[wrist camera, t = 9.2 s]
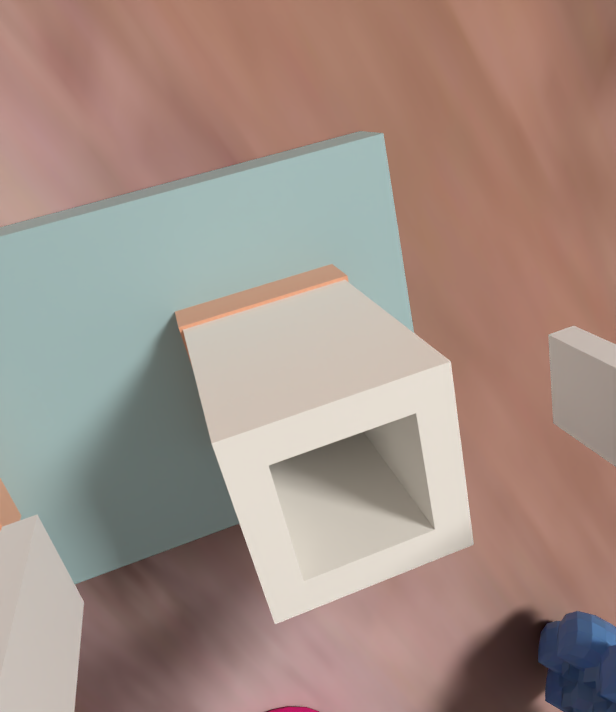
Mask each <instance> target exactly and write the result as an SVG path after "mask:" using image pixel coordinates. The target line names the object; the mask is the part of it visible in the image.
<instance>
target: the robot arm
mask: <svg viewBox="0 0 616 712" xmlns="http://www.w3.org/2000/svg"><path fill="white" fill-rule="evenodd" d="M549 353H550V371H551V389H552V407H553V423H554V424H555V425H557V426H558V427H559V428H561V429H562V430H564V431H565V432H567V433H568V434H570V435H571V436H572V437H574V438H575V439H577V440H578V441H580V442H581V443H582V444H584V445H585V446H587V447H588V448H590V449H591V450H592V451H594V452H595V453H597V454H598V455H600V456H601V457H602V458H604V459H605V460H607V461H608V462H610V463H611V464H612V465H614V466H615V467H616V344H614V343H611V342H609V341H607V340H605V339H602V338H600V337H598V336H596V335H593V334H591V333H589V332H587V331H585V330H582V329H580V328H578V327H576V326H571V327H569V328H566V329H563V330H560V331H557V332H554V333H552V334H549ZM83 608H84V601H83V599H82V597H81V595H80V594H79V592H78V590H77V588H76V586H75V584H74V582H73V580H72V579H71V577H70V575H69V573H68V571H67V569H66V567H65V565H64V564H63V562H62V560H61V558H60V556H59V554H58V552H57V550H56V548H55V547H54V545H53V543H52V541H51V539H50V537H49V535H48V533H47V532H46V530H45V528H44V526H43V524H42V522H41V520H40V518H39V517H38V515H34V516H31V517H28V518H25V519H23V520H20V521H17V522H14V523H11V524H8V525H5V526H3V527H2V529H1V532H0V712H74V710H75V699H76V687H77V676H78V665H79V653H80V642H81V631H82V620H83Z"/></svg>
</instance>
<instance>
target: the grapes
mask: <svg viewBox="0 0 616 712" xmlns="http://www.w3.org/2000/svg"><path fill="white" fill-rule="evenodd" d="M538 662H539V663H540V664H542V665H544V666H545V667H547V668H549V669H548V672H547V679H546V687H545V701H547V702H548V703H550V704H552V705H553V706H555V707H556V708H558V709H560V710H562V711H563V712H616V627H615V626H613V625H612V624H610V623H609V622H607V621H605V620H603V619H601V618H599V617H598V616H596V615H592V614H588V613H584V612H579V611H576V612H573V613H569V614H566V615H565V616H564V618H563V619H562V620H561V621H555V622H551V623H547V624H546V626H545V627H544V629H543V630H542V631H541V636H540V642H539V649H538Z"/></svg>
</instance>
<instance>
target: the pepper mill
mask: <svg viewBox="0 0 616 712" xmlns="http://www.w3.org/2000/svg"><path fill="white" fill-rule="evenodd" d="M268 712H319V711H316V710H313V709H310V708H307V707H283V708H278V709H274V710H271V711H268Z"/></svg>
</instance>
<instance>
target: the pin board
mask: <svg viewBox="0 0 616 712" xmlns="http://www.w3.org/2000/svg"><path fill="white" fill-rule="evenodd" d="M330 264H333V265H334V266H335V267H337V268H338V269H339V270H341V271H342V272H343V273H345V274H346V275H347V276H348V281H349V283H350V284H351V285H353V286H354V287H355V288H357V289H358V290H359V291H360V292H362V293H363V294H364V295H366V296H367V297H368V298H369V299H371V300H372V301H373V302H375V303H376V304H377V305H378V306H380V307H381V308H382V309H384V310H385V311H386V312H388V313H389V314H390V315H391V316H393V317H394V318H395V319H397V320H398V321H399V322H400V323H402V324H403V325H404V326H406V327H407V328H408V329H409V330H411V331H412V332H413V333H414V330H413V324H412V317H411V311H410V304H409V298H408V291H407V285H406V278H405V272H404V265H403V258H402V252H401V245H400V239H399V232H398V226H397V219H396V213H395V206H394V200H393V193H392V187H391V180H390V174H389V167H388V161H387V154H386V148H385V141H384V135H383V133H375V132H363V131H359V132H355V133H352V134H348V135H344V136H341V137H337V138H333V139H329V140H326V141H322V142H318V143H314V144H311V145H307V146H303V147H299V148H296V149H292V150H288V151H284V152H281V153H277V154H273V155H269V156H266V157H262V158H258V159H255V160H251V161H247V162H243V163H240V164H236V165H232V166H228V167H225V168H221V169H217V170H213V171H210V172H206V173H202V174H198V175H195V176H191V177H187V178H183V179H180V180H176V181H172V182H169V183H165V184H161V185H157V186H154V187H150V188H146V189H142V190H139V191H135V192H131V193H127V194H124V195H120V196H116V197H112V198H109V199H105V200H101V201H97V202H94V203H90V204H86V205H82V206H79V207H75V208H71V209H68V210H64V211H60V212H56V213H53V214H49V215H45V216H41V217H38V218H34V219H30V220H26V221H23V222H19V223H15V224H11V225H8V226H4V227H0V478H1V480H2V482H3V484H4V485H5V487H6V489H7V491H8V493H9V494H10V496H11V498H12V500H13V502H14V503H15V505H16V507H17V509H18V511H19V512H20V514H21V519H20V520H23V519H25V518H28V517H31V516H34V515H38V517H39V518H40V520H41V522H42V524H43V526H44V528H45V530H46V532H47V533H48V535H49V537H50V539H51V541H52V543H53V545H54V547H55V548H56V550H57V552H58V554H59V556H60V558H61V560H62V562H63V564H64V565H65V567H66V569H67V571H68V573H69V575H70V577H71V579H72V580H73V582H74V584H77V583H80V582H83V581H85V580H88V579H91V578H93V577H96V576H99V575H101V574H104V573H107V572H110V571H112V570H115V569H118V568H120V567H123V566H126V565H129V564H131V563H134V562H137V561H139V560H142V559H145V558H148V557H150V556H153V555H156V554H158V553H161V552H164V551H166V550H169V549H172V548H175V547H177V546H180V545H183V544H185V543H188V542H191V541H194V540H196V539H199V538H202V537H204V536H207V535H210V534H212V533H215V532H218V531H221V530H223V529H226V528H229V527H231V526H234V525H237V524H240V523H239V520H238V518H237V515H236V512H235V509H234V506H233V503H232V500H231V498H230V495H229V492H228V489H227V486H226V483H225V480H224V478H223V475H222V472H221V469H220V466H219V463H218V461H217V458H216V455H215V452H214V449H213V446H212V443H211V439H210V435H209V431H208V427H207V424H206V420H205V416H204V412H203V408H202V404H201V400H200V396H199V392H198V388H197V384H196V380H195V376H194V372H193V368H192V366H191V363H190V360H189V357H188V354H187V351H186V348H185V345H184V342H183V339H182V337H181V334H180V331H179V328H178V324H177V319H176V315H175V311H178V310H182V309H185V308H188V307H192V306H195V305H198V304H202V303H205V302H208V301H211V300H215V299H218V298H221V297H225V296H228V295H231V294H234V293H238V292H241V291H244V290H248V289H251V288H254V287H258V286H261V285H264V284H267V283H271V282H274V281H277V280H281V279H284V278H287V277H290V276H294V275H297V274H300V273H304V272H307V271H310V270H314V269H317V268H320V267H323V266H327V265H330Z"/></svg>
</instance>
